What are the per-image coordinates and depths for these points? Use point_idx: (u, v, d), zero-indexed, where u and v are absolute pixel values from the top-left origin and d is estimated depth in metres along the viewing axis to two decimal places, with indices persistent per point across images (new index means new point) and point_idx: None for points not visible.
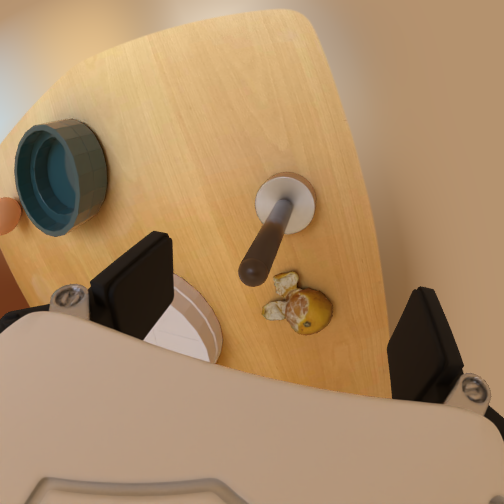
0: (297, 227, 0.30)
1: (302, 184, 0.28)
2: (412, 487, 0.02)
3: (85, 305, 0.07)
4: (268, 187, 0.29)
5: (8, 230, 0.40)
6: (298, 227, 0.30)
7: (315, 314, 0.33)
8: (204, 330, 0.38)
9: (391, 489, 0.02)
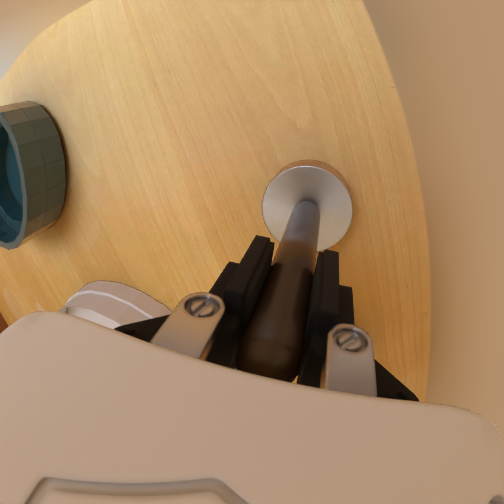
0: (325, 242, 0.20)
1: (335, 178, 0.18)
2: (412, 487, 0.02)
3: (213, 323, 0.07)
4: (282, 182, 0.19)
5: None
6: (326, 242, 0.20)
7: None
8: None
9: (391, 489, 0.02)
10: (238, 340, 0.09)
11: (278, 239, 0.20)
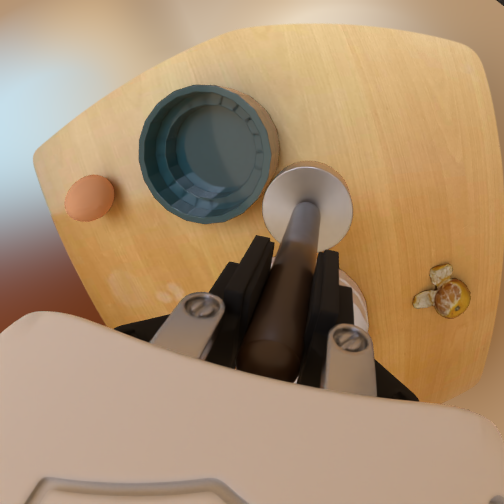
0: (325, 243, 0.20)
1: (335, 178, 0.18)
2: (412, 487, 0.02)
3: (213, 323, 0.07)
4: (282, 183, 0.19)
5: (100, 215, 0.39)
6: (327, 243, 0.20)
7: (464, 299, 0.32)
8: (366, 322, 0.37)
9: (391, 489, 0.02)
10: (238, 340, 0.09)
11: (278, 240, 0.20)
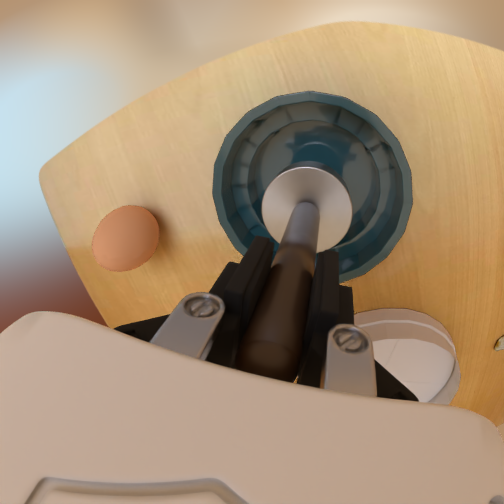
0: (324, 243, 0.20)
1: (335, 179, 0.18)
2: (412, 487, 0.02)
3: (213, 323, 0.07)
4: (282, 183, 0.19)
5: (143, 262, 0.30)
6: (326, 243, 0.20)
7: None
8: None
9: (391, 489, 0.02)
10: (238, 340, 0.09)
11: (277, 241, 0.20)
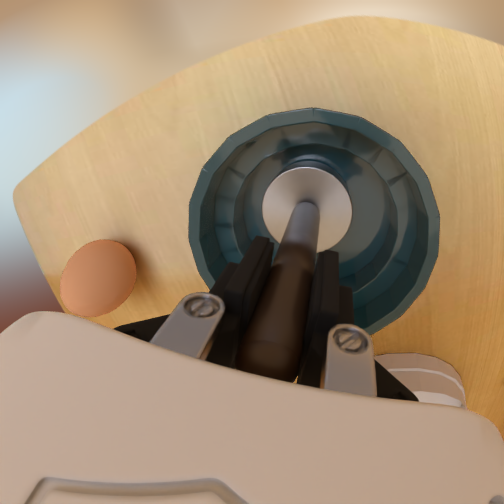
0: (325, 243, 0.20)
1: (335, 179, 0.18)
2: (412, 487, 0.02)
3: (213, 323, 0.07)
4: (282, 183, 0.19)
5: (119, 305, 0.26)
6: (326, 243, 0.20)
7: None
8: None
9: (391, 489, 0.02)
10: (238, 340, 0.09)
11: (278, 240, 0.20)
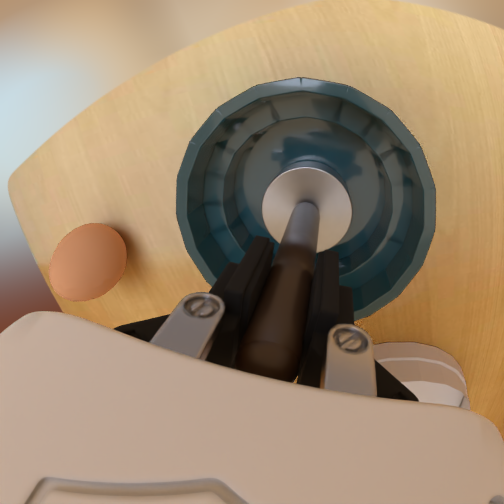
0: (324, 243, 0.20)
1: (334, 179, 0.18)
2: (412, 487, 0.02)
3: (213, 323, 0.07)
4: (281, 183, 0.19)
5: (108, 290, 0.25)
6: (326, 244, 0.20)
7: None
8: None
9: (391, 489, 0.02)
10: (238, 340, 0.09)
11: (277, 240, 0.20)
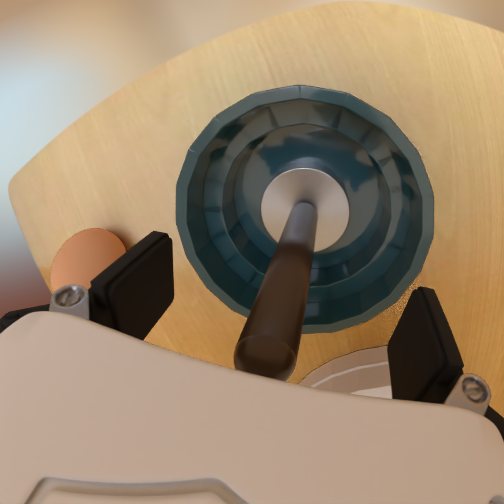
0: (322, 243, 0.20)
1: (332, 179, 0.18)
2: (412, 487, 0.02)
3: (85, 305, 0.07)
4: (280, 183, 0.19)
5: None
6: (324, 243, 0.20)
7: None
8: None
9: (391, 489, 0.02)
10: None
11: (276, 240, 0.21)
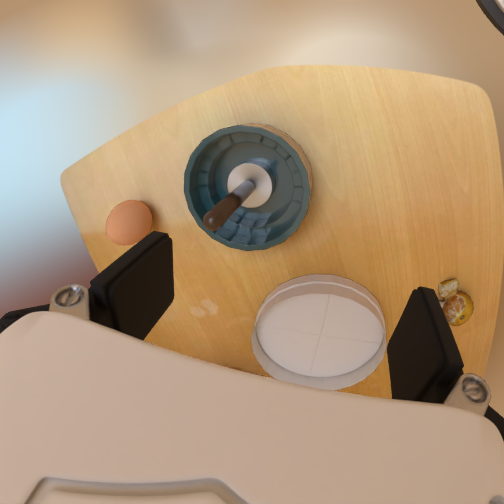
0: (259, 202, 0.38)
1: (262, 168, 0.36)
2: (412, 487, 0.02)
3: (85, 305, 0.07)
4: (236, 171, 0.37)
5: (140, 239, 0.43)
6: (260, 202, 0.38)
7: (468, 309, 0.37)
8: (384, 331, 0.42)
9: (391, 489, 0.02)
10: None
11: None
